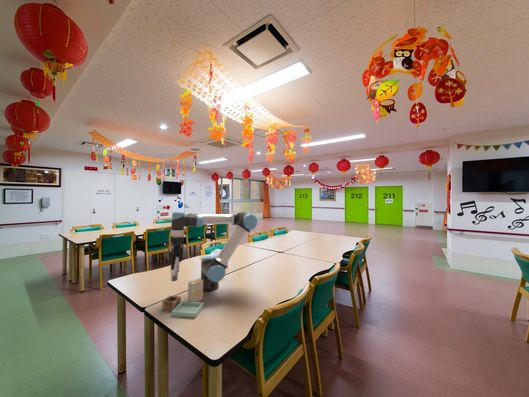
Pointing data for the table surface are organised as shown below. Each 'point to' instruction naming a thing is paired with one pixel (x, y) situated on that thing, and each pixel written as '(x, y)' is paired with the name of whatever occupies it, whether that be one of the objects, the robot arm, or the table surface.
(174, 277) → the cylinder
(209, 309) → the table surface
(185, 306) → the tray
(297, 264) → the table surface
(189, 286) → the supplement box
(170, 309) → the brown square holder
